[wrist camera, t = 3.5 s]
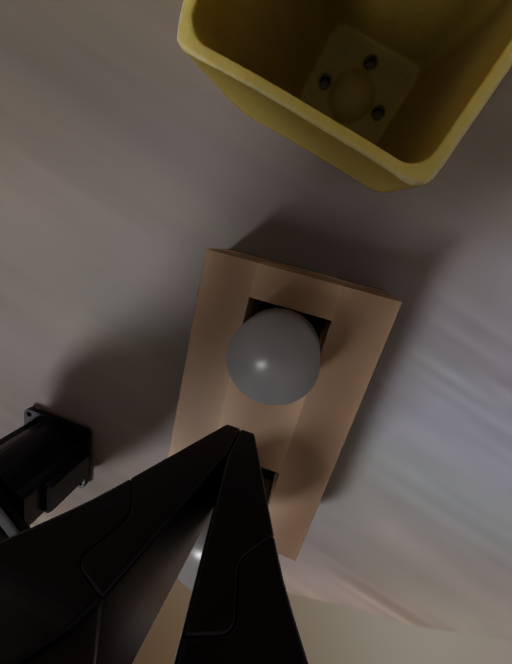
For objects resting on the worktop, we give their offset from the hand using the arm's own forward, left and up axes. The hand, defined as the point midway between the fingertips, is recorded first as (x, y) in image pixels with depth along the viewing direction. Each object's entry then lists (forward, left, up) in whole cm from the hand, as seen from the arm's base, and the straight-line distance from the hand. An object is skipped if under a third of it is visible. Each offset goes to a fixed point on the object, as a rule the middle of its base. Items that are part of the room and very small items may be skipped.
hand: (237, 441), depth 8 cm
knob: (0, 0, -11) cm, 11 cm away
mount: (0, -5, -12) cm, 13 cm away
